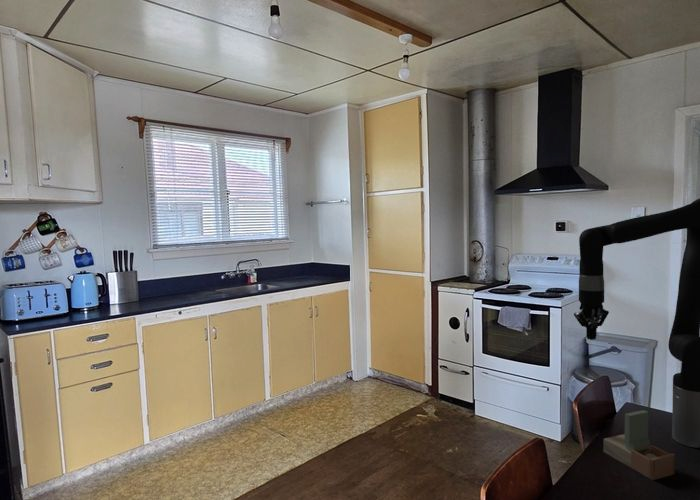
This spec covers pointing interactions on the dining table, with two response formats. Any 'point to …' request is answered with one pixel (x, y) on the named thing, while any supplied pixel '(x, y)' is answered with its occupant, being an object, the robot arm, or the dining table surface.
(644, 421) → the green rectangular slab
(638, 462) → the cup
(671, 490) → the dining table surface
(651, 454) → the ball
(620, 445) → the beige open box
